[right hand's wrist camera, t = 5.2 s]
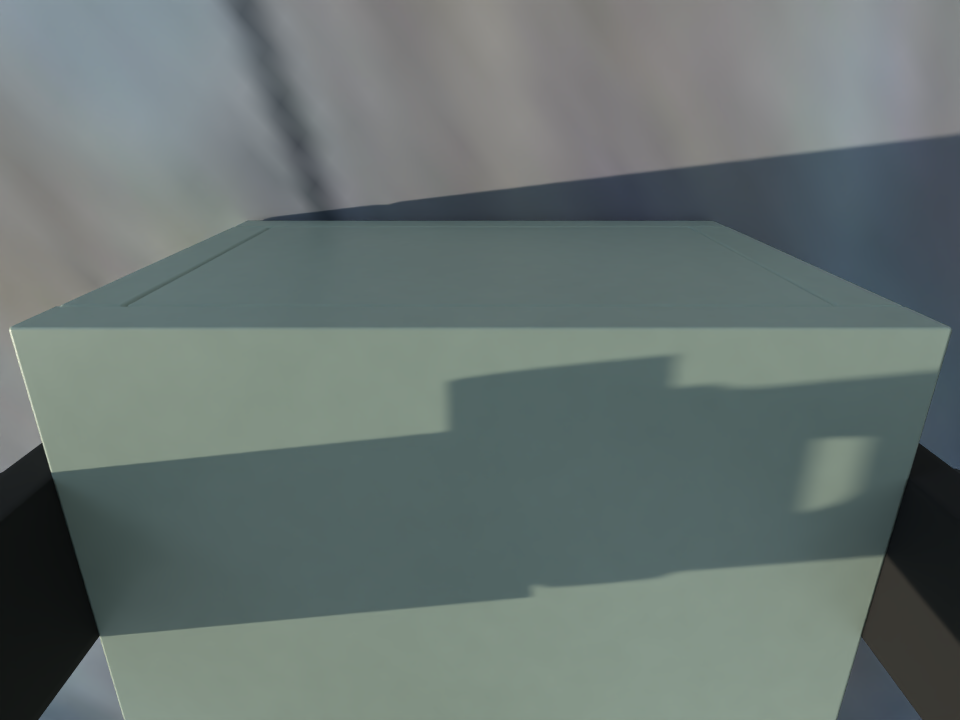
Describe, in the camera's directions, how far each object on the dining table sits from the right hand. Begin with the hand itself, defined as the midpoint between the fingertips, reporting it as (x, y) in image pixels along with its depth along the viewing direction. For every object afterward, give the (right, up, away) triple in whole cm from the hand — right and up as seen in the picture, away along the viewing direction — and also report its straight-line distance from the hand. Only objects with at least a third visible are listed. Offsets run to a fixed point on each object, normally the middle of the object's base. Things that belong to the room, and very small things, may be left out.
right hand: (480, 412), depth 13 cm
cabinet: (0, -3, +5) cm, 6 cm away
